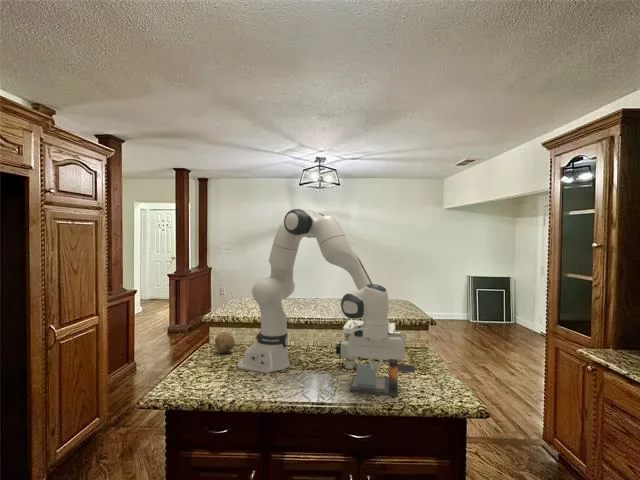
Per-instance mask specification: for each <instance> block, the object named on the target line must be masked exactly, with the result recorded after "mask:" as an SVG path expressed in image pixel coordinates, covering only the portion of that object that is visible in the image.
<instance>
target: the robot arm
mask: <svg viewBox="0 0 640 480" xmlns="http://www.w3.org/2000/svg"><path fill="white" fill-rule="evenodd" d="M303 238H308V239H309V238H311V239H312V238H315V239H316V241H317V245H318V248H319V250H320V252H321V255H322V257H323V259H325V261H326V262H327V263H329V264H331V265H333V266H336V267H339V268H341V269H343V270H345V271H346V272H347V273H348V274H349V276H351V279H352V280H353V282H354V285H355V286H356V288H357V290H355V291H351V292H348V293H345V294H344V295H343V296H342V298H341V301H340V309H341V312H342V314H343V315H344V316H345V317H346V318H348V319H351V320H354V319H355V320H357V319H362V321H363V325H359V326H355V327H353V328H352V329H351V336H350V338H349V341H348V347H347V354H348V356H350V357H366V358H368V359H367V360H368V364H371V370H376V372H377V371H378V372H379V371H380V370H381V366H382V364H383V363H384V360H383V359H397V360H398V361H399V360H400V361H401V360H404V359H405V358H406V352H405V345H406V342H407V337H406V335H405V334H404V333H403V332H400V331H395V332H389V331H388V330H389V323H390V322H389V318H388V314H389V308H390V307H389V306H390V305H389V295H388V293H389V292H388V290H387V289H386V287H384V286H383V285H381V284H380V285H379V284H376V283H375V284H374V283H373V282H372V281H371V278H370V277H369V274H368V272H367V271H366V269H365V267H364V265H363V263H362V261H361V260H360V257H358V255H357V254H356V253H355V251H354V250H353V248H352V247H351V245H350V244H349V241H348V239H347V237H346V235H345V233H344V231H343V228H342V226H341V225H340V223H339V221H338V220H337V218H336V217H335V216H333V215H329V214H327V215H324V214H322V213H320V212H317V211H314V210H309V209H308V210H306V209H300V208H294V209H290V210H289V211H288V212H286V214H285V216H284V219H283V222H281V223H280V225H279V226H278V229H277V231H276V233H275V236H274V239H273V242H272V246H271V250H270V253H269V259H268V263H269V266H270V275H269V277H264V278H261V279H260V280H258V281H256V282H255V283H254V285H253V286H252V288H251V294H252V298H253V300H255V302H256V303H257V305H258V309H259V312H260V323H261V324H260V331H259V332H258V333H257V334H256V335H255V340H256V342H255V341H254V343H253V344H251V345H250V346H249V347H248V348H247V349H245V352H244V353H243V358H241V359H240V360H239V361H238V363H237V369H241V370H246V371H247V370H248V371H253V372H258V373H264V374H268V373H269V374H270V373H272V372H279V371H282V370H285V369H287V368H289V367H290V366H291V363H290V360H289V354H288V343H289V342H288V341H289V339H288V337H289V336H288V332H287V331H288V330H287V327H288V326H287V324H288V322H287V318H288V317H287V313H286V312H285V311H284V308H283V307H284V306H283V303H282V301H283V300H285V299H287V298H289V297H290V296H291V295H292V294H293V293H294V291H295V282H294V266H295V262H296V257H297V254H298V251H299V246H300V243H301V241H302V239H303ZM388 335H389V336H388ZM373 358H379V360H378V363H374V362H373V360H372V359H373Z"/></svg>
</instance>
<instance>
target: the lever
mask: <svg viewBox="0 0 640 480" xmlns="http://www.w3.org/2000/svg"><path fill="white" fill-rule="evenodd" d="M388 377H389V379H390V380H394V381H395V380H397V381H398V380H399V371H398V367H396V366H390V367H389V366H388Z"/></svg>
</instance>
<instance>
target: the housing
mask: <svg viewBox="0 0 640 480" xmlns="http://www.w3.org/2000/svg"><path fill="white" fill-rule="evenodd" d="M356 375H357V380H356V384H367V385H375V383H376V377H377V371H376V370H371V364H370V363H363V362H362V363H361V362H358V363H356Z"/></svg>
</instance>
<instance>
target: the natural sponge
mask: <svg viewBox="0 0 640 480" xmlns="http://www.w3.org/2000/svg"><path fill="white" fill-rule="evenodd" d="M214 340H215V341H214V342H215V346H216V348H217V350H218V352H219V353H221V354H226V353H227V352H228V351H229V350H230V351H231V349H233V348H234V346H235V345H236V344H235V343H236V342H235V339H234V337H233V335H232V334H231V333H229V332H227V331H224V332H220V333H219V334H217V336H216V337H215V338H214Z"/></svg>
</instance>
